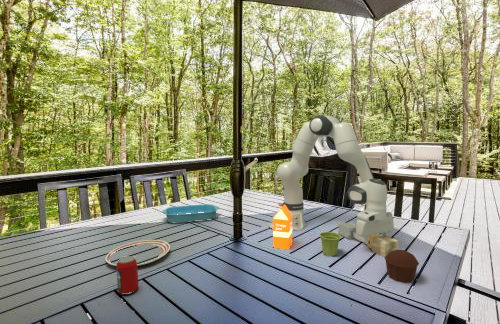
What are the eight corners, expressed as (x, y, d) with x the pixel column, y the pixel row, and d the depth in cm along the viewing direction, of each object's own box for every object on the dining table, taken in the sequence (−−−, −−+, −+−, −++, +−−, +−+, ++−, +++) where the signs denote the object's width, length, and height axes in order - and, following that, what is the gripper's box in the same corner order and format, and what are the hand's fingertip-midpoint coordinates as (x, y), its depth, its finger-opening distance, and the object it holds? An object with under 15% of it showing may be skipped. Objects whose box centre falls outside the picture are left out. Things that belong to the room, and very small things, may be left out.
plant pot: (340, 250, 131) (341, 232, 130) (340, 259, 122) (340, 240, 121) (320, 248, 134) (320, 230, 133) (318, 256, 125) (318, 237, 124)
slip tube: (379, 252, 128) (380, 240, 127) (350, 238, 145) (350, 227, 145) (386, 250, 129) (387, 238, 129) (356, 237, 147) (357, 226, 146)
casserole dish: (216, 212, 202) (216, 202, 201) (222, 221, 180) (221, 210, 180) (163, 217, 192) (162, 206, 191) (162, 227, 170) (161, 215, 170)
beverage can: (122, 286, 103) (120, 255, 102) (141, 285, 104) (139, 254, 102) (115, 297, 96) (112, 263, 95) (135, 295, 97) (133, 262, 96)
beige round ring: (106, 278, 110) (105, 270, 109) (105, 252, 134) (105, 246, 134) (176, 262, 122) (176, 255, 122) (164, 241, 147) (164, 235, 146)
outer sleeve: (348, 239, 144) (349, 228, 144) (338, 234, 151) (338, 224, 151) (359, 237, 147) (359, 226, 146) (348, 232, 154) (349, 222, 154)
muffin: (402, 287, 99) (403, 260, 98) (377, 273, 109) (378, 249, 108) (425, 280, 104) (426, 254, 103) (398, 267, 114) (399, 243, 113)
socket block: (384, 257, 123) (385, 243, 122) (372, 251, 129) (372, 238, 129) (398, 254, 126) (398, 240, 125) (385, 248, 132) (385, 235, 132)
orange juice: (273, 248, 135) (272, 207, 133) (277, 241, 144) (277, 203, 142) (288, 250, 133) (288, 209, 131) (292, 243, 141) (292, 204, 139)
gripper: (386, 209, 138) (385, 236, 139) (354, 214, 130) (353, 243, 132) (397, 213, 132) (396, 241, 134) (364, 218, 125) (363, 248, 126)
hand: (375, 242), depth 133 cm, fingers open, 8 cm apart
